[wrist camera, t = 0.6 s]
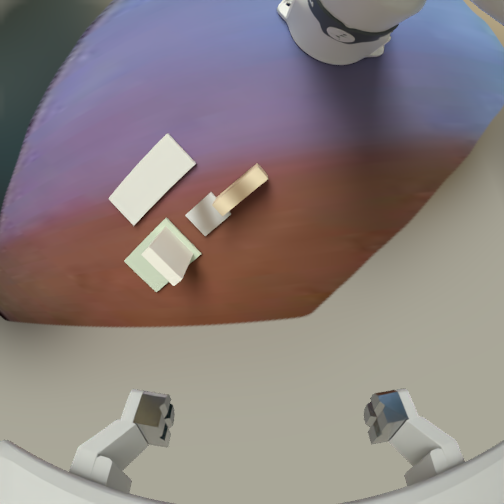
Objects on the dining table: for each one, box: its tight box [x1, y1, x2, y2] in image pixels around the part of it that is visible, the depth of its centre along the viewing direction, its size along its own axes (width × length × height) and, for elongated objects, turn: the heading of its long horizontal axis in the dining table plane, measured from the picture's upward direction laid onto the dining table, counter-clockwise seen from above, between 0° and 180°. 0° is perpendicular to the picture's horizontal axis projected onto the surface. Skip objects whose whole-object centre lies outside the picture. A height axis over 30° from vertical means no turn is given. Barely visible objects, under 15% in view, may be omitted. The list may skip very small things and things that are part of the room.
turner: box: [185, 163, 268, 236], centre depth 44 cm, size 15×5×4 cm, turn 130°
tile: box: [141, 226, 193, 286], centre depth 45 cm, size 2×7×9 cm, turn 40°
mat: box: [124, 217, 202, 292], centre depth 50 cm, size 13×9×1 cm
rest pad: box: [109, 133, 196, 225], centre depth 44 cm, size 16×7×1 cm, turn 130°
